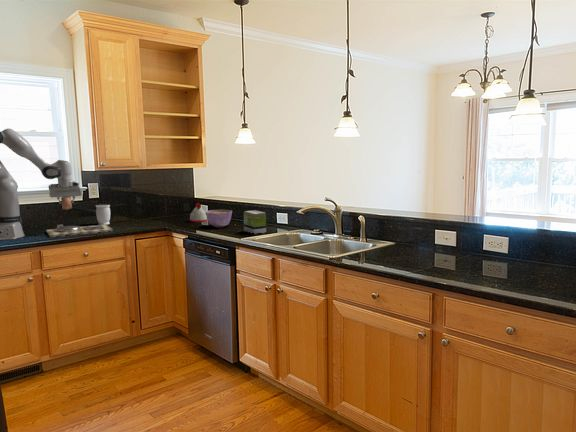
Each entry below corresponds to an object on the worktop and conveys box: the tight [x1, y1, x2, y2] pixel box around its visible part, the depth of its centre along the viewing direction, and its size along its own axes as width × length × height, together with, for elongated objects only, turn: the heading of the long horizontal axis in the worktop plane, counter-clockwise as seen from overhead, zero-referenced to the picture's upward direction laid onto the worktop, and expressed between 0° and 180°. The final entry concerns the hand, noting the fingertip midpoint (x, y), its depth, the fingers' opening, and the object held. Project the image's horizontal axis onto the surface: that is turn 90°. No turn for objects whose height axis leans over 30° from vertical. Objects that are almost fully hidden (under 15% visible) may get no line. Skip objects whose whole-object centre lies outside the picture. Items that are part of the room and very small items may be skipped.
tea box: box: [243, 209, 267, 235], centre depth 309 cm, size 15×10×15 cm, turn 36°
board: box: [46, 224, 114, 238], centre depth 313 cm, size 40×24×2 cm, turn 123°
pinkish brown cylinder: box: [60, 197, 73, 210], centre depth 306 cm, size 8×6×8 cm
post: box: [56, 223, 81, 232], centre depth 310 cm, size 15×15×4 cm
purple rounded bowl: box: [205, 209, 233, 228], centre depth 333 cm, size 20×20×12 cm
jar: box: [95, 204, 111, 226], centre depth 344 cm, size 11×10×15 cm
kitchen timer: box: [189, 202, 208, 223], centre depth 359 cm, size 14×14×15 cm
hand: (66, 203), depth 307 cm, fingers closed on pinkish brown cylinder, 6 cm apart
